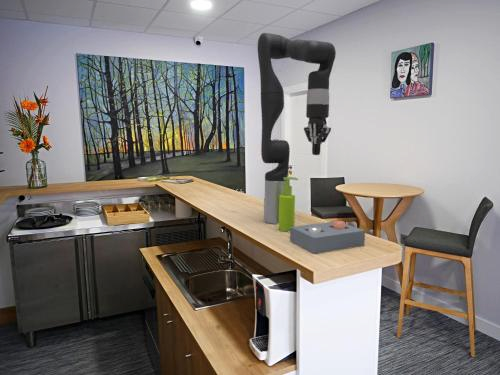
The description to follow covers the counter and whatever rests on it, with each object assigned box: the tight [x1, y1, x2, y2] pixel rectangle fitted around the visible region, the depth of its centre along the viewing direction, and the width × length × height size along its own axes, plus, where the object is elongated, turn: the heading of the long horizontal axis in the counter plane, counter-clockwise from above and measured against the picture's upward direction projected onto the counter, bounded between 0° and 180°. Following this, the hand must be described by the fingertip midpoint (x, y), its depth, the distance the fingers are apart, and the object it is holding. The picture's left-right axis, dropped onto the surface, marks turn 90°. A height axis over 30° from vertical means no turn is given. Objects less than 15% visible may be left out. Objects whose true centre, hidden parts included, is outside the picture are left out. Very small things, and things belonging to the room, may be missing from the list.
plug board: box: [289, 221, 366, 255], centre depth 124 cm, size 14×20×5 cm
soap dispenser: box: [278, 176, 299, 233], centre depth 139 cm, size 6×7×20 cm
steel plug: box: [308, 226, 321, 233], centre depth 122 cm, size 4×4×5 cm
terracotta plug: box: [332, 220, 346, 230], centre depth 126 cm, size 4×4×5 cm
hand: (316, 154), depth 128 cm, fingers closed
